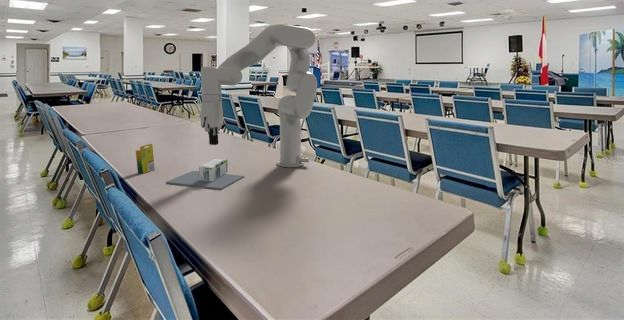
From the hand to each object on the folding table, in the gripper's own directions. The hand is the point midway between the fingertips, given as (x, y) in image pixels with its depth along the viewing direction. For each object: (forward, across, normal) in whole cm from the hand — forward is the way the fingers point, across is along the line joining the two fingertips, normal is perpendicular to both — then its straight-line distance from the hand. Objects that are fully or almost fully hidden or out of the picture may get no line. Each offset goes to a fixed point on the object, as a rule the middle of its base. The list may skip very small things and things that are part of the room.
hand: (213, 144), depth 161 cm
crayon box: (+13, +4, -31) cm, 34 cm away
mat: (+13, +7, 0) cm, 15 cm away
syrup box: (+10, -5, 0) cm, 11 cm away
